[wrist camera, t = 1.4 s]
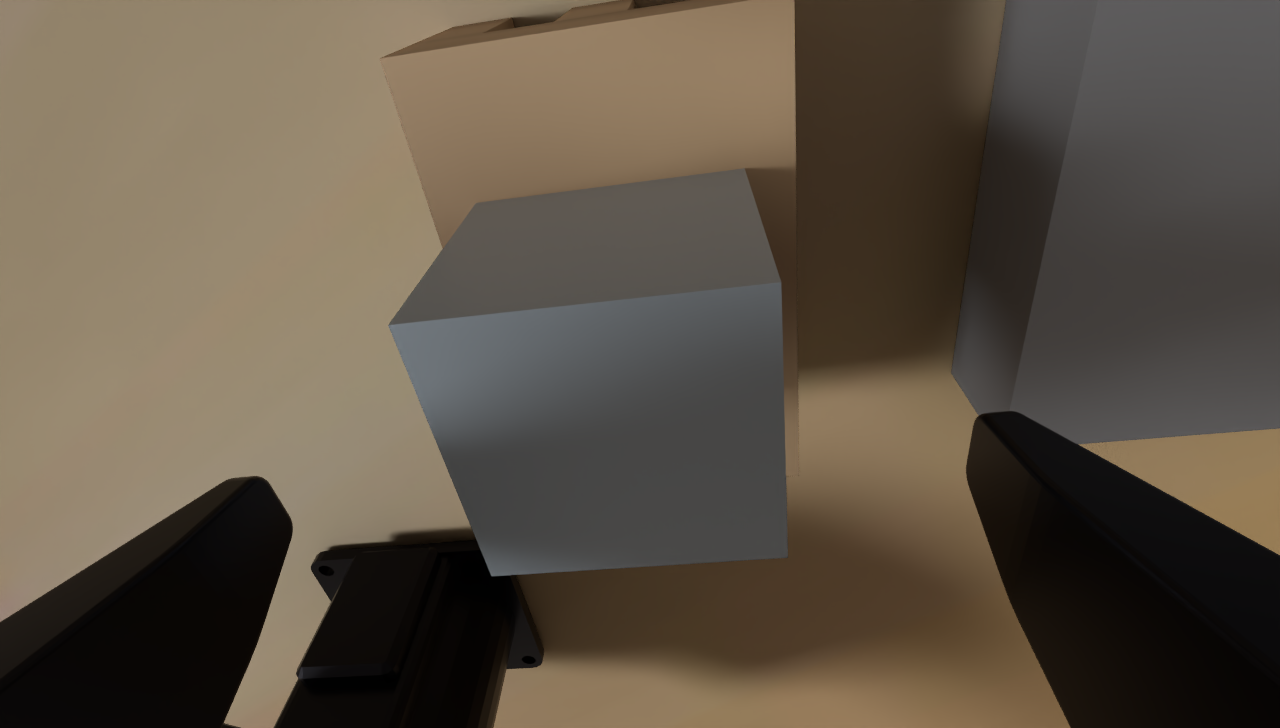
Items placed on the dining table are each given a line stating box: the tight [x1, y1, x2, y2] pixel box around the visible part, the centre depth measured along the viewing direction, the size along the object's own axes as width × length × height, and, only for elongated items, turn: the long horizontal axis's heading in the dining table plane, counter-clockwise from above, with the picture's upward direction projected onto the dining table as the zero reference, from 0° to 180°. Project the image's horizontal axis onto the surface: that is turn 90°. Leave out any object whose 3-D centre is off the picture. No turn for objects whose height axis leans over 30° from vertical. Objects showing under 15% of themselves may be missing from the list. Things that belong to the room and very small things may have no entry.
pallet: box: [380, 0, 799, 477], centre depth 13 cm, size 9×6×4 cm, turn 8°
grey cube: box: [388, 168, 788, 576], centre depth 10 cm, size 4×4×4 cm
